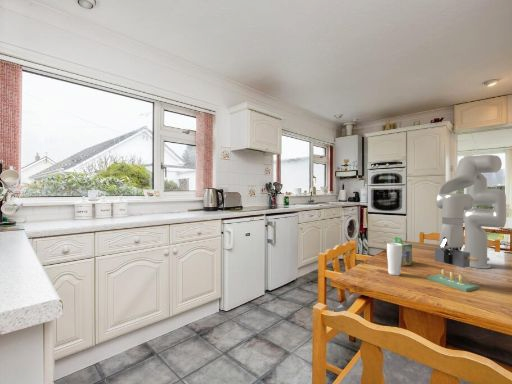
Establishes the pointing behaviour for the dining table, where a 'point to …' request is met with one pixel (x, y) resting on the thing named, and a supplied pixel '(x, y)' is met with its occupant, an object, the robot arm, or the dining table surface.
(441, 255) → the block
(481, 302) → the dining table surface
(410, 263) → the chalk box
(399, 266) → the white cup
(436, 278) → the header strip
